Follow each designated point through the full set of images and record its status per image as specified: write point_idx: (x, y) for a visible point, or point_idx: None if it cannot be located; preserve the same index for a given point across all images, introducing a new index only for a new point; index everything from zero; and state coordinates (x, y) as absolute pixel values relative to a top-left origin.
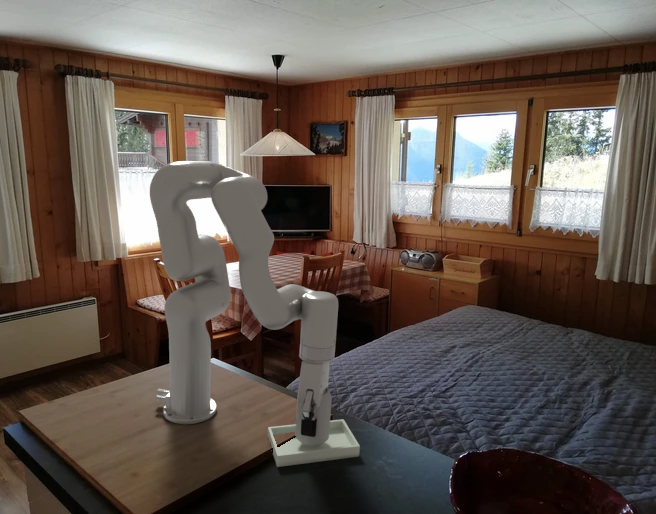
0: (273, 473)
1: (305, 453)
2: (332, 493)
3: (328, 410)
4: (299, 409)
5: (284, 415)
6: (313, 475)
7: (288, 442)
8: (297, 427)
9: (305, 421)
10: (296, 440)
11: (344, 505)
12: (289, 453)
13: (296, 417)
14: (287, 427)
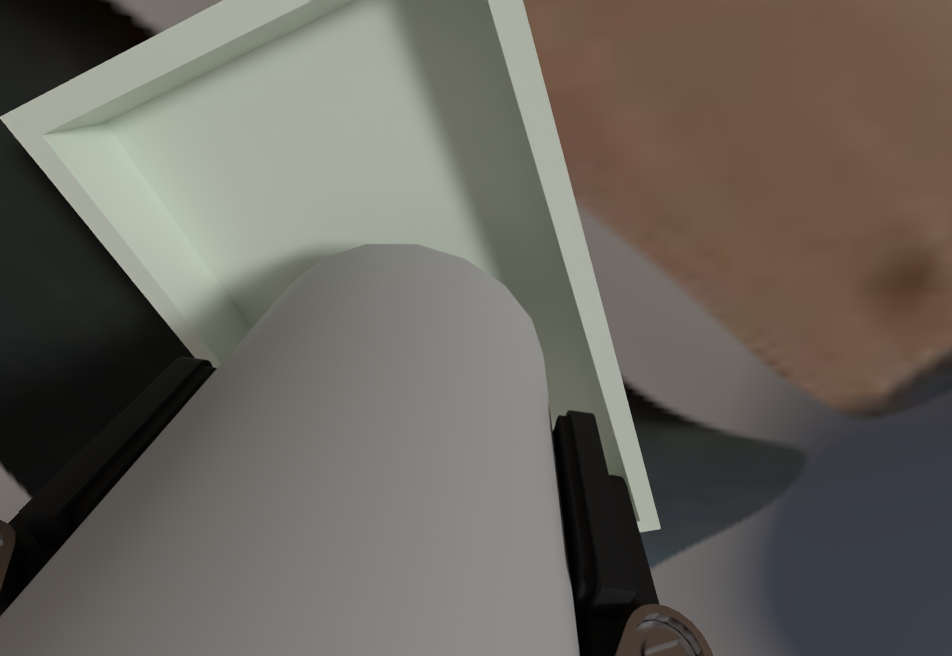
0: (2, 88)
1: (180, 333)
2: (59, 427)
3: None
4: (71, 541)
5: (933, 35)
6: (139, 345)
7: (396, 160)
8: (267, 321)
9: (16, 530)
10: (438, 223)
11: (18, 466)
12: (101, 221)
13: (273, 358)
14: (529, 141)
